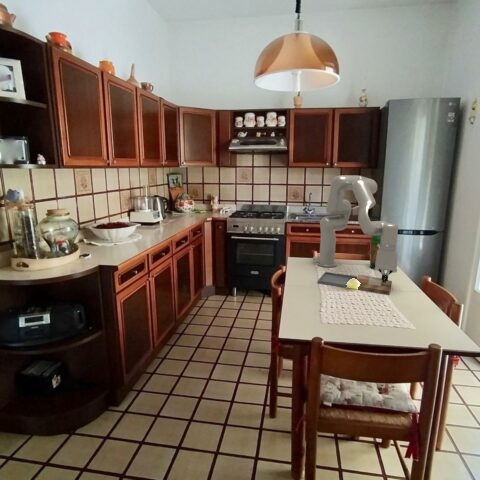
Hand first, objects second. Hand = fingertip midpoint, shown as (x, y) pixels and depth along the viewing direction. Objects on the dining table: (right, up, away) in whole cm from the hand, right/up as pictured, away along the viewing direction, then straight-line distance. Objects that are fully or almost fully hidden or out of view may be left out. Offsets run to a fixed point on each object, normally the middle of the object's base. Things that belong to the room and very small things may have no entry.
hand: (384, 281), depth 178 cm
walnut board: (-3, -3, +3) cm, 5 cm away
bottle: (+11, +4, +37) cm, 39 cm away
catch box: (-19, -1, +10) cm, 22 cm away
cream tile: (-4, -1, +2) cm, 5 cm away
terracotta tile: (-9, 0, +5) cm, 11 cm away
